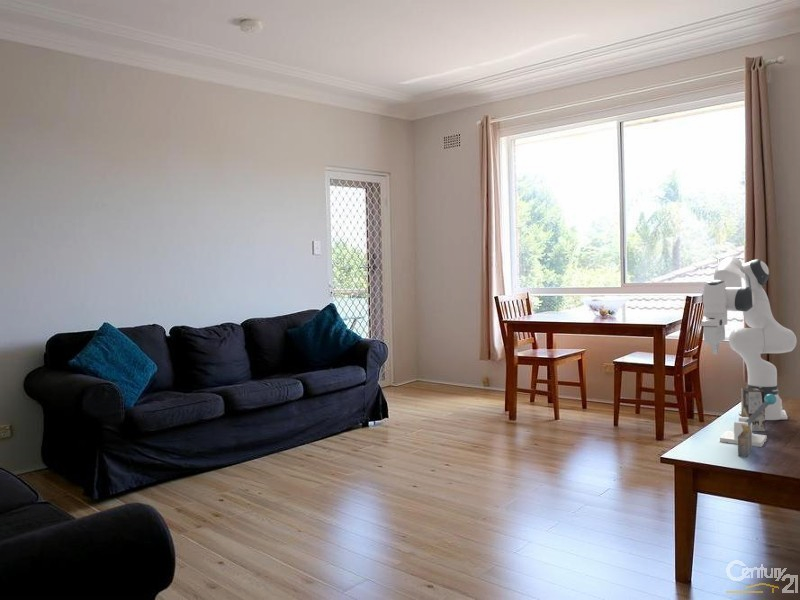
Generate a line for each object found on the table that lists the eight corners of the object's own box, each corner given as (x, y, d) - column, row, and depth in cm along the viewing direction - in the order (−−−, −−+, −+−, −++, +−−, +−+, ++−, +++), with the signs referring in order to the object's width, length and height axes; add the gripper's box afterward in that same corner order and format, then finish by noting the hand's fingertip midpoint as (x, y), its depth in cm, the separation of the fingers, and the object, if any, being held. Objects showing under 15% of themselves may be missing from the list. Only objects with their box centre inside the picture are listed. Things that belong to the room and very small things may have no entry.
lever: (737, 424, 250) (770, 390, 242) (746, 432, 248) (780, 397, 240) (734, 428, 245) (768, 392, 238) (744, 435, 244) (777, 400, 236)
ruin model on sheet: (742, 449, 237) (742, 423, 236) (751, 450, 235) (751, 424, 234) (736, 457, 228) (736, 430, 227) (746, 458, 226) (746, 431, 225)
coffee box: (765, 431, 258) (765, 391, 257) (748, 431, 259) (747, 391, 258) (757, 425, 267) (757, 387, 266) (741, 425, 268) (740, 387, 267)
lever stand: (726, 434, 255) (726, 414, 255) (766, 439, 247) (766, 418, 246) (719, 441, 246) (719, 421, 245) (761, 446, 237) (761, 425, 237)
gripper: (712, 317, 271) (712, 350, 272) (700, 322, 255) (701, 356, 256) (728, 318, 267) (729, 351, 268) (718, 322, 251) (718, 357, 252)
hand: (715, 354), depth 262 cm, fingers closed
